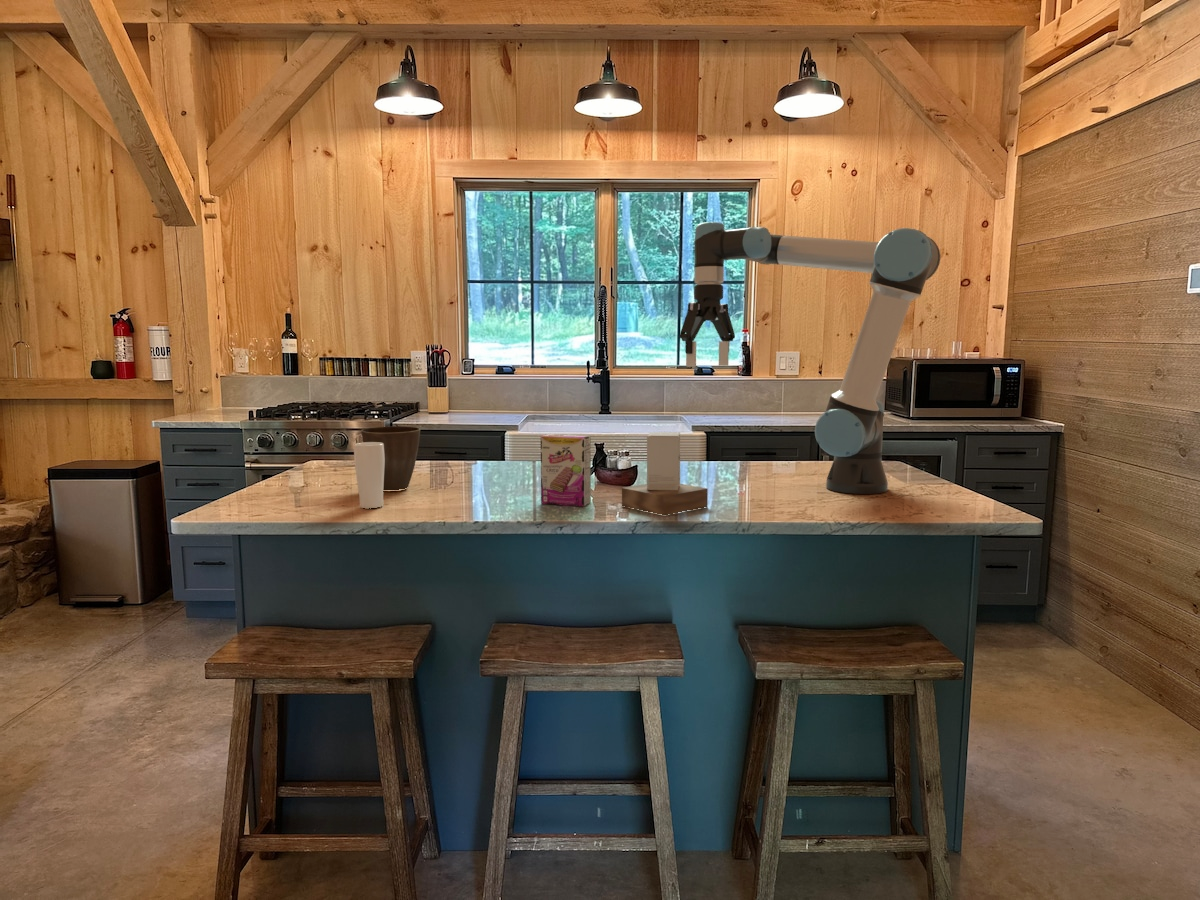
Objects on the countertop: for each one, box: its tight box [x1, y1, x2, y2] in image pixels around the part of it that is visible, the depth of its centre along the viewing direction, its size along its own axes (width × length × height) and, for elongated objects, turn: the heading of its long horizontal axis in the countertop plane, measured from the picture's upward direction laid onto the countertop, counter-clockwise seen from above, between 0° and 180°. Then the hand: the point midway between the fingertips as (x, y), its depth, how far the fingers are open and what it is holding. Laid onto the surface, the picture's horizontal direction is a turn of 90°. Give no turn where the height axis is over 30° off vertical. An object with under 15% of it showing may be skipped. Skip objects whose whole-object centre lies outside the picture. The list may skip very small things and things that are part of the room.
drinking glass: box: [353, 442, 385, 510], centre depth 182 cm, size 7×7×15 cm
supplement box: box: [646, 431, 681, 491], centre depth 181 cm, size 7×7×13 cm
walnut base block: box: [621, 483, 709, 515], centre depth 182 cm, size 14×14×5 cm
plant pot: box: [360, 425, 421, 490], centre depth 204 cm, size 15×15×16 cm
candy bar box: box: [540, 433, 592, 508], centre depth 185 cm, size 11×5×16 cm, turn 71°
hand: (707, 366), depth 207 cm, fingers open, 13 cm apart
